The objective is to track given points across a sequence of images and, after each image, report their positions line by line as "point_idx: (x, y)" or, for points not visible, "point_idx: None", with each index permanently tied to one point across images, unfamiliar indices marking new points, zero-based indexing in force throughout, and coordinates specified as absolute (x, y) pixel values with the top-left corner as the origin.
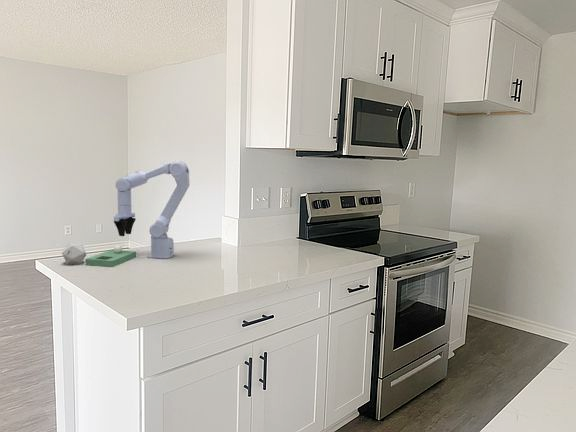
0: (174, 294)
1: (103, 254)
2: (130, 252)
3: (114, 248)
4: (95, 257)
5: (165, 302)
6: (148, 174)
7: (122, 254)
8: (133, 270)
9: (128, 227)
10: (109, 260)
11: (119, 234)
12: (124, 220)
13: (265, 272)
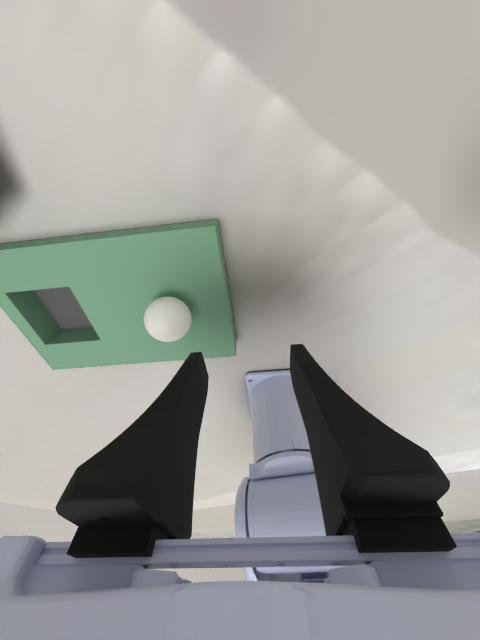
0: (49, 493)
1: (96, 268)
2: (209, 347)
3: (144, 315)
4: (23, 278)
5: (16, 496)
6: None
7: (158, 341)
8: (94, 409)
9: (306, 409)
10: (49, 358)
11: (185, 363)
12: (338, 465)
13: (229, 521)
